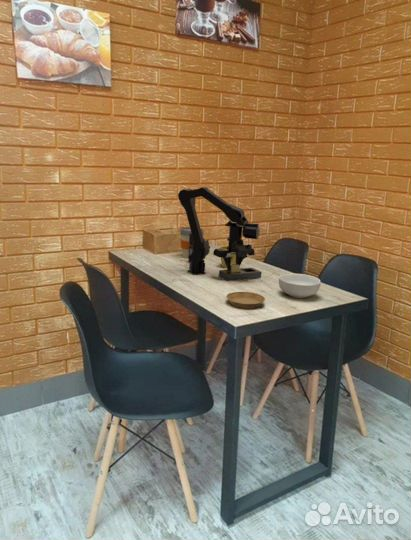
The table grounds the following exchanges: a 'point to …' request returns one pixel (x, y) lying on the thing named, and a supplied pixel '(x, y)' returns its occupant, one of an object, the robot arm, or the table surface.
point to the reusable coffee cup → (186, 240)
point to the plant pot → (230, 256)
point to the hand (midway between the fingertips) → (232, 270)
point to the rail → (240, 274)
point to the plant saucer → (245, 299)
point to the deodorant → (190, 245)
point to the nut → (234, 268)
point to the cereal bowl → (299, 285)
